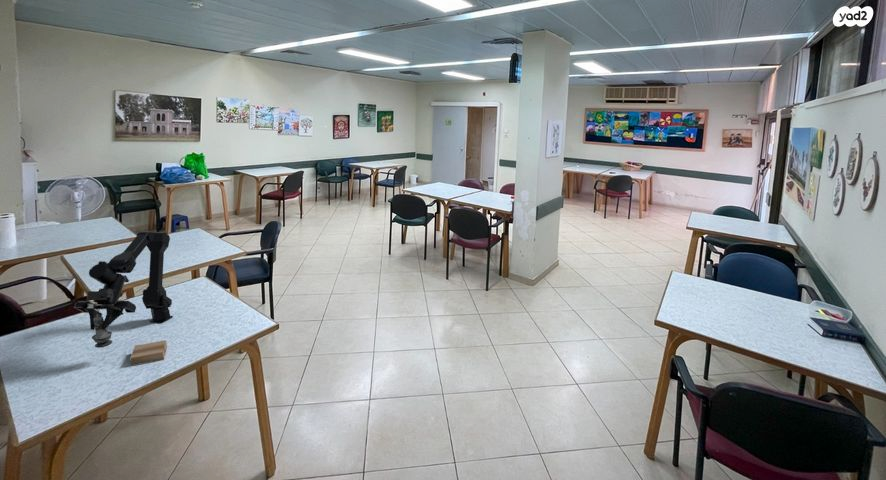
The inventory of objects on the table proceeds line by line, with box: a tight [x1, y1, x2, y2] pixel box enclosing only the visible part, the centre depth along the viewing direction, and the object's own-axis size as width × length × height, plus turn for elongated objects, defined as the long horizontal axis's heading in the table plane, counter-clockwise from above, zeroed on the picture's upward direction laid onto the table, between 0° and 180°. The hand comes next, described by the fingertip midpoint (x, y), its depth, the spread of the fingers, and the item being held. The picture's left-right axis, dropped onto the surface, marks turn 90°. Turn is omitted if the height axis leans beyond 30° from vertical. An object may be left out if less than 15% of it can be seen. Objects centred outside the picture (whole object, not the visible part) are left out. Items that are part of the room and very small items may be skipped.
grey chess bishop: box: [91, 314, 114, 349], centre depth 160 cm, size 6×6×12 cm
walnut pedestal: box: [129, 339, 168, 366], centre depth 166 cm, size 10×10×3 cm
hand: (97, 329), depth 159 cm, fingers closed on grey chess bishop, 4 cm apart
